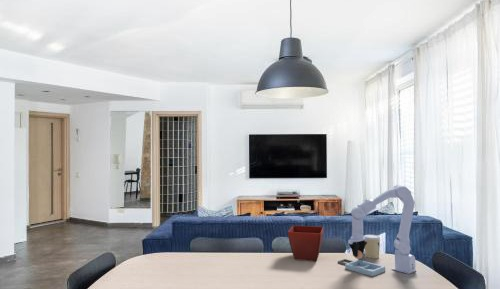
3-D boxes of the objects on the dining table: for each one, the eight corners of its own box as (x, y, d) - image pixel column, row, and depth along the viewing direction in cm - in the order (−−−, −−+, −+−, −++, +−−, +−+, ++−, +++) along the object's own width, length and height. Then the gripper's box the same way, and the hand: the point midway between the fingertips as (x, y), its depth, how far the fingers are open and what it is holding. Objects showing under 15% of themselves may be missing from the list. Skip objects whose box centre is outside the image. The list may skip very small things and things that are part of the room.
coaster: (355, 263, 194) (355, 261, 194) (347, 265, 190) (347, 264, 190) (344, 260, 200) (344, 258, 200) (337, 263, 195) (337, 261, 195)
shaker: (367, 262, 195) (367, 251, 195) (363, 264, 193) (362, 252, 193) (360, 261, 199) (360, 249, 199) (356, 262, 196) (356, 250, 196)
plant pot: (287, 261, 200) (287, 231, 201) (293, 252, 218) (292, 225, 219) (321, 263, 195) (320, 233, 195) (324, 254, 213) (323, 226, 213)
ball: (357, 257, 189) (356, 248, 189) (364, 258, 186) (364, 250, 186) (352, 258, 186) (351, 250, 186) (359, 260, 183) (359, 251, 183)
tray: (385, 271, 180) (385, 266, 180) (372, 276, 173) (372, 271, 173) (358, 264, 193) (358, 259, 193) (345, 268, 185) (345, 264, 185)
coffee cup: (382, 258, 203) (382, 238, 203) (366, 258, 203) (366, 238, 203) (377, 254, 212) (376, 234, 212) (361, 254, 212) (361, 234, 213)
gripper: (359, 227, 194) (359, 251, 194) (343, 230, 185) (343, 256, 185) (370, 229, 189) (370, 254, 188) (354, 232, 180) (355, 259, 179)
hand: (358, 255), depth 186 cm, fingers closed on ball, 4 cm apart
